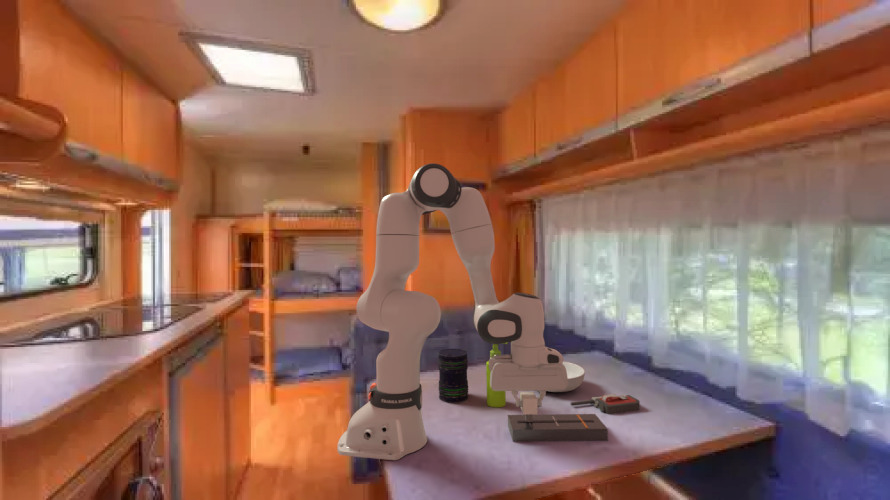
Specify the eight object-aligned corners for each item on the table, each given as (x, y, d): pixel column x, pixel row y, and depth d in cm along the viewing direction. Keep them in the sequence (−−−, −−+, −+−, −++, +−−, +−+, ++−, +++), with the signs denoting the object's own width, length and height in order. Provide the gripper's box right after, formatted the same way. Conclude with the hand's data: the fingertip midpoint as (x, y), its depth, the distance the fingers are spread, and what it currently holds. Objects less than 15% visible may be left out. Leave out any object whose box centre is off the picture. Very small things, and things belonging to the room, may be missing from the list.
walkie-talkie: (625, 400, 128) (568, 407, 124) (625, 386, 128) (568, 392, 124) (645, 411, 120) (584, 418, 115) (644, 396, 120) (584, 403, 115)
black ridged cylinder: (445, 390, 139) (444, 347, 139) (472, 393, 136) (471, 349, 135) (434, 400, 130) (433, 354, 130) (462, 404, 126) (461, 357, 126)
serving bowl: (523, 397, 132) (523, 376, 132) (522, 376, 152) (522, 358, 152) (590, 400, 128) (589, 379, 128) (580, 379, 148) (579, 360, 148)
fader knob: (523, 424, 104) (523, 399, 104) (520, 416, 109) (520, 392, 109) (537, 424, 104) (537, 398, 104) (533, 416, 109) (533, 391, 109)
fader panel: (512, 441, 102) (512, 429, 102) (507, 425, 111) (507, 414, 111) (607, 440, 101) (607, 428, 101) (595, 424, 110) (594, 413, 110)
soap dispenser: (508, 408, 123) (507, 343, 123) (486, 406, 124) (485, 342, 124) (509, 401, 129) (508, 338, 128) (487, 399, 130) (486, 338, 130)
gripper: (489, 358, 103) (490, 411, 103) (569, 357, 103) (570, 410, 103) (487, 351, 110) (488, 402, 110) (562, 350, 109) (563, 401, 109)
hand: (528, 406), depth 106 cm, fingers closed on fader knob, 4 cm apart
